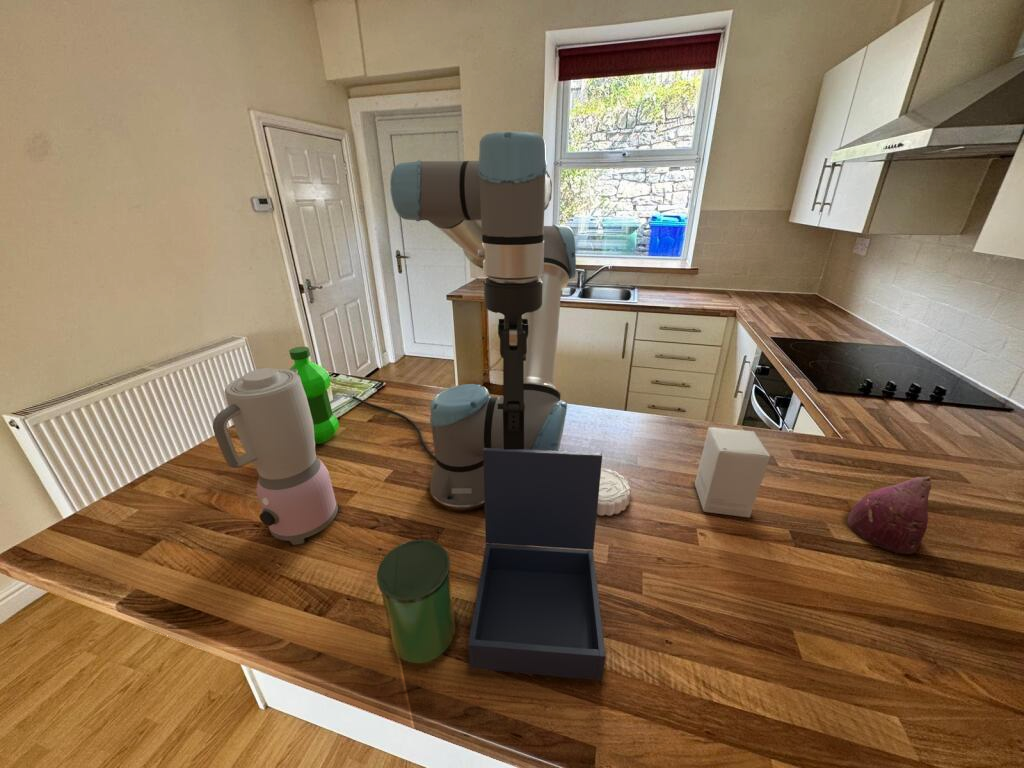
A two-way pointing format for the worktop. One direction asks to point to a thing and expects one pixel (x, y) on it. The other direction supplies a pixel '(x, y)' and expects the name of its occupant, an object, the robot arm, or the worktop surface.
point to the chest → (538, 613)
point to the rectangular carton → (731, 471)
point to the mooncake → (612, 493)
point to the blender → (278, 451)
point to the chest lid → (541, 497)
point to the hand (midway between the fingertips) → (513, 421)
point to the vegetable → (893, 515)
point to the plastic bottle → (315, 393)
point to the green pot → (418, 599)
